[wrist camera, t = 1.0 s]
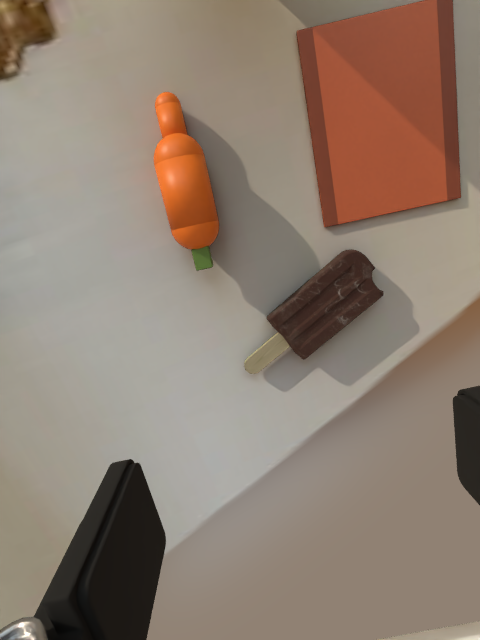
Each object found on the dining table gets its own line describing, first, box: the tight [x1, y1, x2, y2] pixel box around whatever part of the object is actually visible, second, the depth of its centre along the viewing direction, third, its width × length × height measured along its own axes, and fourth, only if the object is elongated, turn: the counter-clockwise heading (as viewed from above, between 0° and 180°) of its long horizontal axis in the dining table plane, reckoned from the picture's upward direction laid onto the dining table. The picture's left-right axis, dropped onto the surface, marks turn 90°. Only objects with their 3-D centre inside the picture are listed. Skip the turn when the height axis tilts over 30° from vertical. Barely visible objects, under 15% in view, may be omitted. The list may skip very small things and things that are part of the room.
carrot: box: [154, 92, 219, 271], centre depth 28 cm, size 14×4×4 cm, turn 12°
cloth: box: [297, 0, 461, 227], centre depth 29 cm, size 15×12×1 cm
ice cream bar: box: [244, 249, 383, 374], centre depth 33 cm, size 5×2×15 cm
